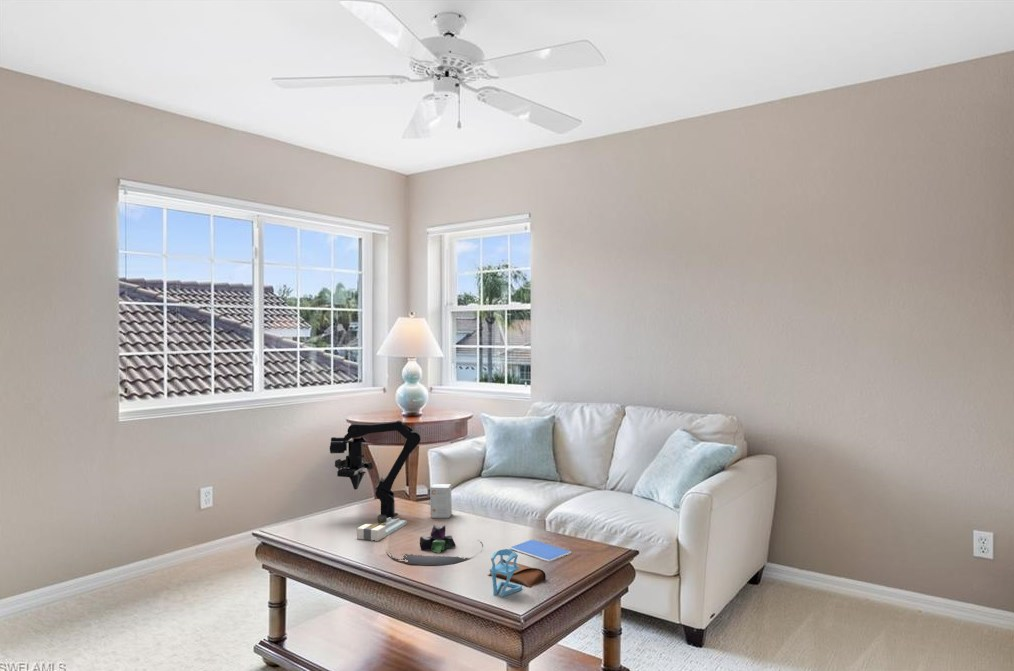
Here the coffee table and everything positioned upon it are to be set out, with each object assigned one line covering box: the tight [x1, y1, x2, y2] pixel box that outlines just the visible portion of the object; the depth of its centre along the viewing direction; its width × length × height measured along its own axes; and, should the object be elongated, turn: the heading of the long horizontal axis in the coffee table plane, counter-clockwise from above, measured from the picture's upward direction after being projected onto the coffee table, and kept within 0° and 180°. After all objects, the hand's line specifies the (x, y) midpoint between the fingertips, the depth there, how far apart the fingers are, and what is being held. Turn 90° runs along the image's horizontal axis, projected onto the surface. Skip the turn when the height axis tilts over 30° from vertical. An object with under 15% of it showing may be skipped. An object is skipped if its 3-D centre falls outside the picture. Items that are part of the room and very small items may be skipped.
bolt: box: [368, 514, 387, 529], centre depth 245 cm, size 10×3×4 cm, turn 160°
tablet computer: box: [509, 539, 572, 563], centre depth 224 cm, size 19×13×1 cm, turn 45°
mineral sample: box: [386, 524, 484, 566], centre depth 228 cm, size 35×35×9 cm
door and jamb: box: [356, 517, 408, 542], centre depth 249 cm, size 22×9×4 cm, turn 160°
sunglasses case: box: [487, 558, 547, 589], centre depth 200 cm, size 18×7×7 cm
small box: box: [429, 483, 453, 519], centre depth 270 cm, size 8×6×13 cm
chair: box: [489, 548, 523, 598], centre depth 189 cm, size 8×8×12 cm
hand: (355, 489), depth 269 cm, fingers closed
